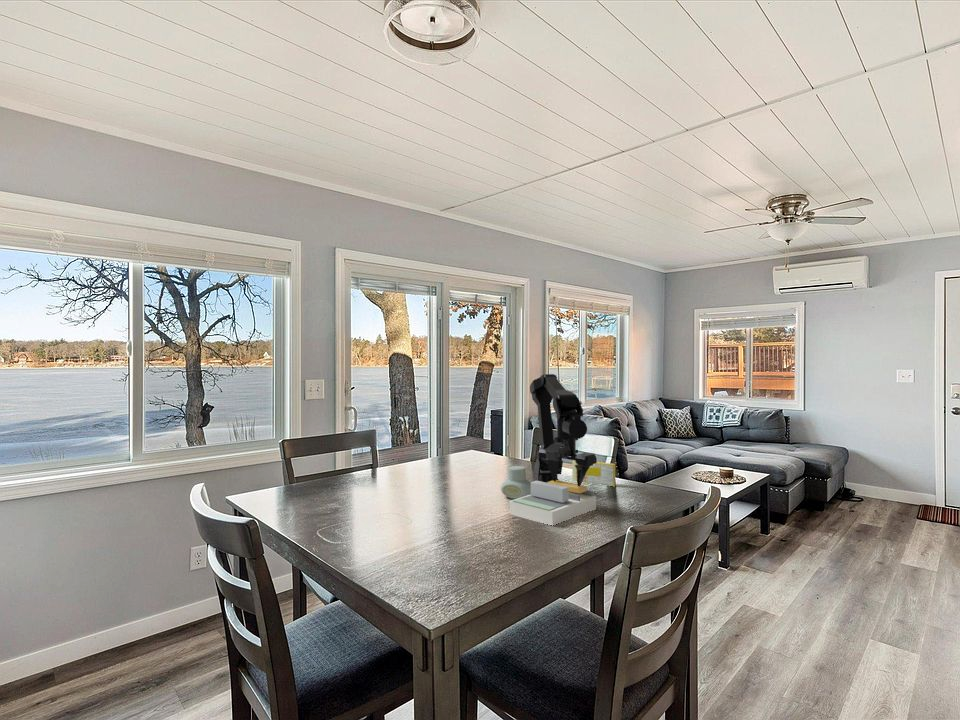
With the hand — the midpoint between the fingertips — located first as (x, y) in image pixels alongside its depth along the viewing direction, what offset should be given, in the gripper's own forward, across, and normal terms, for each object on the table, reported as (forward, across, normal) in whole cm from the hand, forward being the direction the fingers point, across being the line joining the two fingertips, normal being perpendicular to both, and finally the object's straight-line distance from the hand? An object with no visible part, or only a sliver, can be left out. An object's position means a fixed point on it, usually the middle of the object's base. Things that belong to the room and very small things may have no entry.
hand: (566, 483), depth 160 cm
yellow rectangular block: (+2, 0, 0) cm, 2 cm away
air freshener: (+8, -19, -2) cm, 21 cm away
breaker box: (+7, 0, -7) cm, 10 cm away
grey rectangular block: (+3, 0, -9) cm, 9 cm away
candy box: (+8, -10, +31) cm, 34 cm away
